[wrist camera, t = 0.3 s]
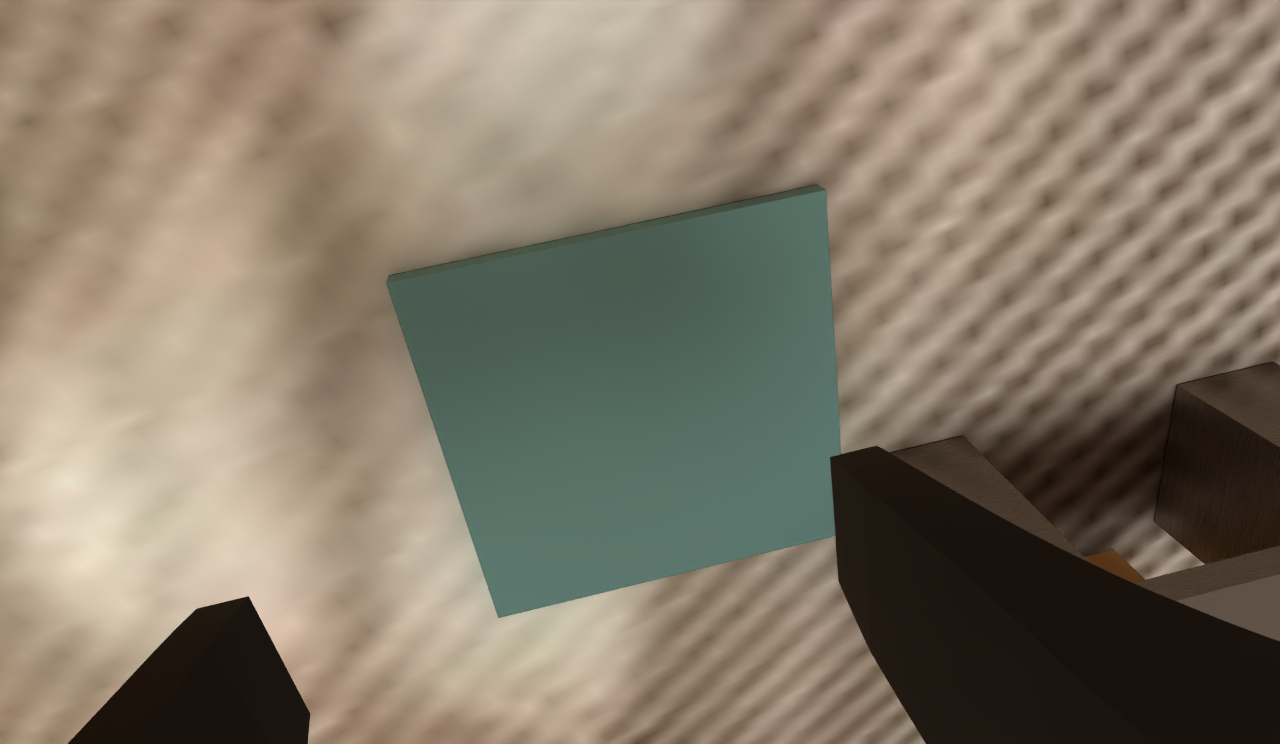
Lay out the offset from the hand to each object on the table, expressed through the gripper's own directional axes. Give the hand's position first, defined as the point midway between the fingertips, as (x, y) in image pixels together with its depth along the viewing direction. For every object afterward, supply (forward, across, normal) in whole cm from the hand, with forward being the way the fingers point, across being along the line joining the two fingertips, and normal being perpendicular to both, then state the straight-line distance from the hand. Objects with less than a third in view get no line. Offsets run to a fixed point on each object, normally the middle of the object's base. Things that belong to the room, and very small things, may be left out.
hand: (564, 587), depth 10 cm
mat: (+10, -2, +4) cm, 11 cm away
